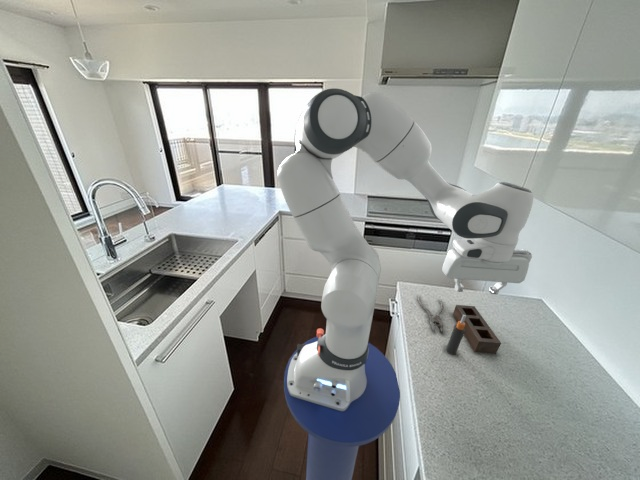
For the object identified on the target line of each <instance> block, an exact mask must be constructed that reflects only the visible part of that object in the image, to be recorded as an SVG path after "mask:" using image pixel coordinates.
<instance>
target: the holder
mask: <svg viewBox="0 0 640 480" xmlns="http://www.w3.org/2000/svg"><path fill="white" fill-rule="evenodd" d="M463 315H466V318H465V320H464V323H465V327H464V328H465V332H464V334H463V336H464V337H465V339H466V341H467V343H468V344H469V345H470V348H471V349H472V351H473V352H474V353H477V354H486V355H487V354H489V355H497V353H498V351H499V349H500V347H501V345H502V342H501V340H500V339H499V338H498V336H497V335H496V334H495V332H494V331H493V330H492V329H491V327H490V326H489V324H488V322H487V321H486V320H485V319H484V317H483V316H482V314H481V313H480V312H479V310H478V309H477V308H476V306H475V305H463V304H456V305H455V307H454V309H453V312H452V316H453V318H454V320H455V322H456V324H457V323H458V321H461V319H462V317H463Z"/></svg>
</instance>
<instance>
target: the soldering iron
mask: <svg viewBox="0 0 640 480" xmlns="http://www.w3.org/2000/svg"><path fill="white" fill-rule="evenodd" d="M465 318H466V315H463V317H462V319H461V321H458V323H457V322H456V324H454V326H453V329H452V332H451V334H450V337H449V339H448V342H447V345H446V348H445V350H446V352H447V353H448V354H450V355H456V354H457V352H458V349H459V346H460V345H461V342H462V340H463V337H464V332H465V328H464V327H465V323H464V320H465Z"/></svg>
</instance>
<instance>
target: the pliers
mask: <svg viewBox="0 0 640 480" xmlns="http://www.w3.org/2000/svg"><path fill="white" fill-rule="evenodd" d="M417 299H418V304H419V305H420V307H421V308H422V309H423V310H424V311H425V312H426V314H427V315H428V317H429V326H430V327H431V329H432V331H433V332H435V331H436V325H437V327H438V328H439V331H440V333H441V334H443V333H444V325H443V322H442V320H441V318H440V315H441V314H442V312H443V310H444V303H443V301H442V300H441V299H439V300H438V301H439V303H440V309H438V311H437V312H436V314H435V315H434V314H433V313H432V312H431V311H430V310H429V309H428V308H427V307H426V306H424V305H423V302H422V301H421V295H418V298H417Z"/></svg>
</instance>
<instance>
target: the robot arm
mask: <svg viewBox="0 0 640 480" xmlns="http://www.w3.org/2000/svg"><path fill="white" fill-rule="evenodd" d="M294 131H295V133H294V149H293V150H294V151H293V152H294V153H292V154H290V155H289V156H287V157H286V158H284V159H283V161H282V162H281V164H279V167H278V169H277V175H276V176H277V180H278V184H279V187H280V190H281V193H282V195H283V199H284V201H285V203H286V205H287V207H288V210H289V211H290V214H291V216H292V218H293V219H294V221H295V223H296V225H297V227H298V229H299V231H300V232H301V234H302V236H303V238H304V240H305V242H306V243H307V246H308V247H309V248H310V249H311V250H312V251H314V252H318V253H320V254H321V255H322V256H323V257H324V258H325V260H327V262H328V263H329V265H330V269H331V272H330V274H329V276H328V278H327V280H326V282H325V284H324V287H323V291H322V296H321V304H320V308H321V312H322V314H323V316H324V317H325V319H326V326H325V330H324V329H323V328H321V327H320V328H317V329H316V336H315V337H318V338H319V339H318V341H316V342H314V343H311V344H304V343H302V344H300V343H297V344H296V350H297V353H296V354H295V355H294V357H293V358H292V360H291V363H290V366H289V370H288V376H287V387H288V391H289V393H290V395H291V396H293V397H296V398H299V399H302V400H306V401H309V402H312V403H316V404H319V405H322V406H326V407H329V408H332V409H336V410H339V411H345V410H346V409H347V408H348V406H349V405H350V403H351V402H353V401H354V400H356V399H357V398H359V397H360V396H361V395H362V394H363V392H364V391H365V388H366V384H367V379H366V374H365V364H366V360H367V357H368V351H369V346H368V343H369V339H370V332H371V328H372V323H373V319H374V318H373V316H374V312H375V307H376V301H377V297H378V289H379V282H380V276H381V270H382V266H381V259H380V256H379V253H378V252H377V250H376V249H375V248H374V247H373V246H372V245H370V244H369V242H367V240H366V238H365V237H364V236H363V234H362V233H361V232H360V230H359V229H358V227H357V225H356V224H355V222H354V220H353V218H352V215H351V213H350V211H349V209H348V207H347V205H346V203H345V201H344V198H343V197H342V195H341V192H340V190H339V188H338V186H337V185H336V183H335V181H334V177H333V173H332V162H333V160H334V159H336V158H338V157H340V156H341V155H343V154H344V153H346V152H347V151H349V150H351V149H352V148H356V149H359V150H360V151H362V152H363V153H365V154H366V155H367V157H369V158H370V159H371V160H372V161H373V162H374V163H375V164H376V165H377V166H378V167H379V168H381V169H382V170H383V171H384V172H386V173H387V174H389V175H390V176H392V177H394V178H395V179H397V180H405V181H407V182H409V183H410V184H411V185H412V186H413V187H414V188H415V189H416V190H417V191H418V192H419V193H420V194H421V195H422V196H423V197H424V198H425V199H426V201H427V203H428V206H429V210H430V213H431V214H432V216H434V218H436V219H437V220H439V221H440V222H441V223H442V224H444V225H445V226H446V227H447V228H448V229H450V231H452V232H453V233H454V234H455V235H457V236H459V237H460V238H455V239H453V241H452V244H451V245H452V248H451V249H449V251H448V252H447V254H446V256H445V258H444V260H443V264H442V268H441V270H442V273H443V274H444V276H446V278H447V279H451V280H452V279H453V280H454V283H455V285H454V290H455V292H456V293H457V292H458V293H463V292H464V291H463V290H465V289H464V288H465V286H464V285H463V284H462V282H463V280H468V281H480V282H482V281H483V282H496V283H495V284H494V285H490V286H489V289H488V292H489V293H490V294H491V295H498V294H499V293H500V291H501V290H502V289H504V288H506V286H507V285H508V284H521V283H522V282H525V280H526V277H527V274H528V271H529V268H530V262H531V259H532V258H533V254H532V253H531V252H530V251H529V250H527V249H518V248H516V247H517V245H518V244H519V243H518V242H519V236H520V233H521V231H522V230H523V229H524V228H525V226H526V224H527V221H528V219H529V216H530V213H531V211H532V207H533V202H534V193H533V192H532V190H530V189H529V188H526V187H523V186H521V185H517V184H514V183H512V182H511V183H510V182H506V181H499V182H497V183H496V184H494V186H492V187H490V188H488V189H485V190H484V191H481V192H478V193H474V194H473V193H471V192H469V191H467V190H466V189H464V188H463V187H461V186H459V185H457V184H454V183H453V184H452V183H450V182H447V181H446V180H445V178H443V177H442V175H440V173H439V172H438V171H437V170H436V169H435V168H434V167H433V165H432V164H431V163H430V158H431V155H432V150H433V149H432V148H433V147H432V143H431V141H430V140H429V138H428V136H427V134H426V133H425V132H424V130H423V129H422V128H421V126H420V125H419V124H418V123H417V122H416V121H415V120H414V118H412V117H411V116H410V115H409V114H408V113H407V112H406V110H404V109H403V108H401V107H400V105H398V104H397V103H395V102H394V101H393V100H391V99H390V98H388V97H387V96H386V95H384V94H382V93H381V92H377V91H372V92H369V93H366V94H364V95H363V96H359V95H355V94H353V93H351V92H349V91H347V90H344V89H342V88H335V87H334V88H333V87H332V88H327V89H324V90H322V91H319V92H318V93H317V94H315V95H314V96H313V97H312V98H311V99H310V100H309V101H308V103H307V104H306V107H305V109H304V110H303V111H302V112H301V114H300V116H299V118H298V120H297V124H296V128H295V130H294ZM295 359H296V360H295ZM290 384H292V385H290ZM337 403H338V404H339V405H337Z"/></svg>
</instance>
